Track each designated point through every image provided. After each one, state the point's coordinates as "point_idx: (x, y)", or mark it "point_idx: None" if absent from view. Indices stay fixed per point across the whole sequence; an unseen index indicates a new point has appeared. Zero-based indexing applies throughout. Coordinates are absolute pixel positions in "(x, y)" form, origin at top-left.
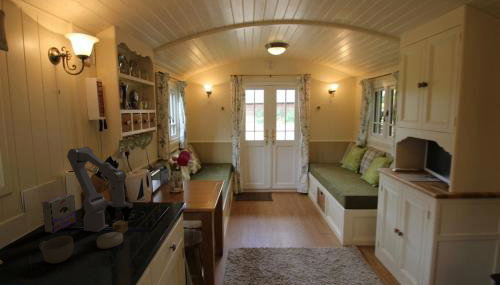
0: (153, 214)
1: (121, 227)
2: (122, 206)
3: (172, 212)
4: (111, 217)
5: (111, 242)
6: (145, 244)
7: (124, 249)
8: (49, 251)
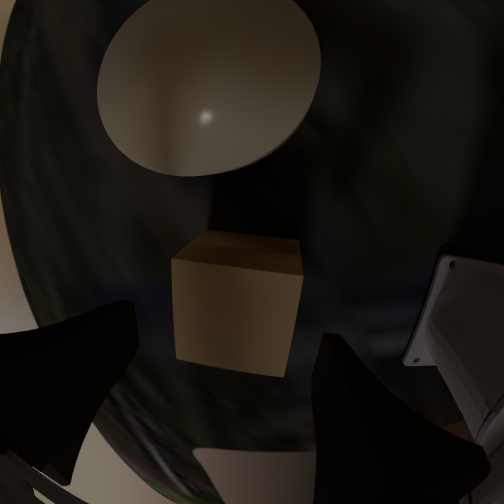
0: (200, 466)
1: (182, 252)
2: (45, 491)
3: (133, 459)
4: (342, 356)
5: (137, 14)
6: (16, 135)
7: (76, 48)
8: None
